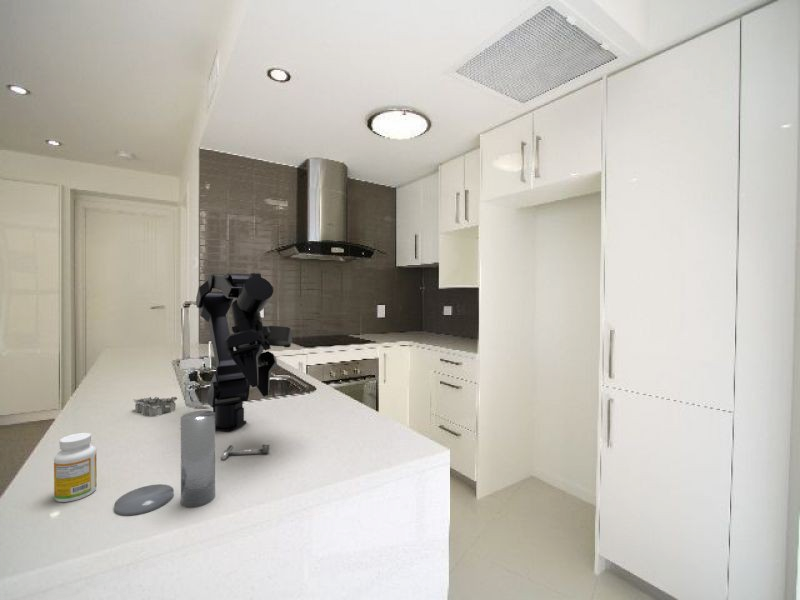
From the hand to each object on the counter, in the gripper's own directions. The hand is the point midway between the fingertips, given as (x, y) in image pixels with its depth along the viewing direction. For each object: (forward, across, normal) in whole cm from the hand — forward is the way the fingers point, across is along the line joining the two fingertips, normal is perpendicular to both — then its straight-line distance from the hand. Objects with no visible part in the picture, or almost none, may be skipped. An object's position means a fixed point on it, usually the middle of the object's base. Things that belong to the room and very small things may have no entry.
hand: (260, 391), depth 75 cm
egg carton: (-13, +37, +36) cm, 53 cm away
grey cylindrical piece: (+16, -6, +12) cm, 21 cm away
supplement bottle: (+9, -2, +31) cm, 33 cm away
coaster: (+14, -6, +20) cm, 24 cm away
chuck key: (+10, +9, +7) cm, 15 cm away
